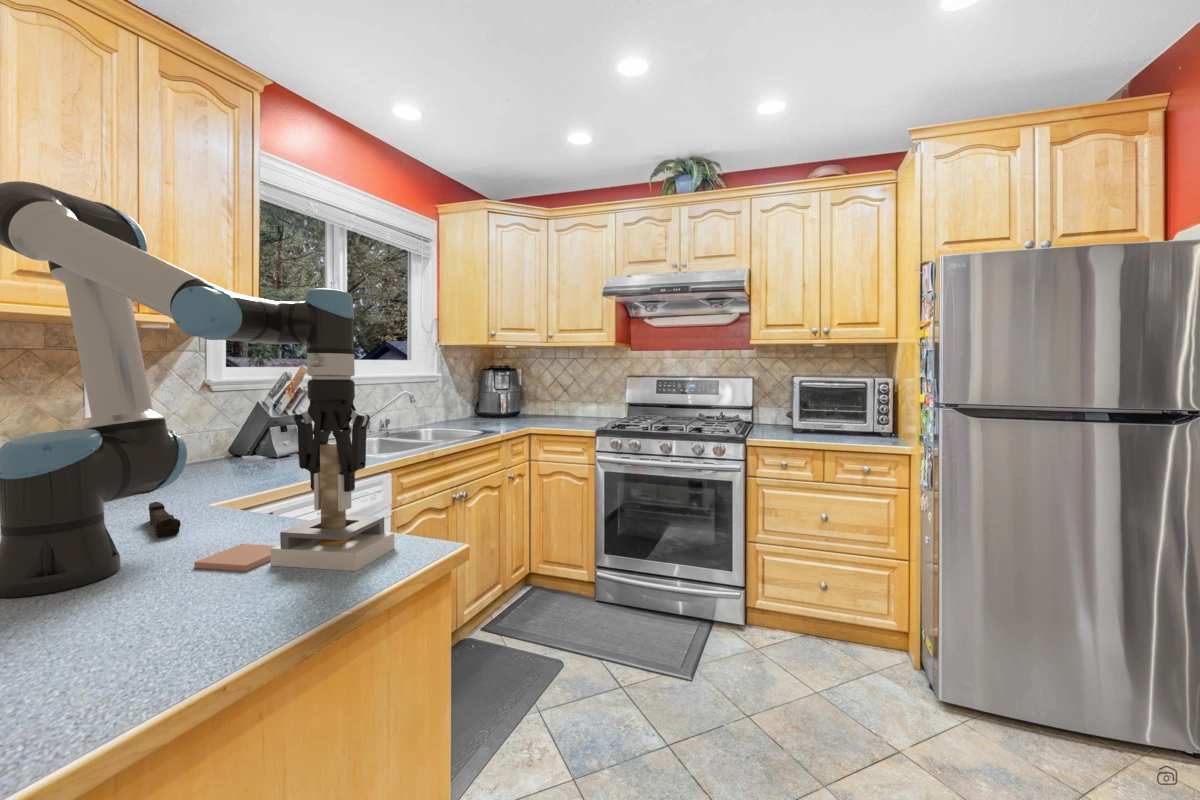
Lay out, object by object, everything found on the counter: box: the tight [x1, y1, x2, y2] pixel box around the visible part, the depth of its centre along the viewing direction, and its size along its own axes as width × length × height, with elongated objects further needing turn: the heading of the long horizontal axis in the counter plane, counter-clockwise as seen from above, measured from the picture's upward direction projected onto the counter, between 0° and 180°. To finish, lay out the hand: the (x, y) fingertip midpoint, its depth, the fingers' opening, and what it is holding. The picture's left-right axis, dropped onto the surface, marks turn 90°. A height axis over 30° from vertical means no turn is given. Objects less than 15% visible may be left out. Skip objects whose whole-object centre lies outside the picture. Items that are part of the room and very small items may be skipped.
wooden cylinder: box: [320, 442, 347, 530], centre depth 97 cm, size 4×4×16 cm
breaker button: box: [320, 538, 350, 546], centre depth 98 cm, size 5×5×3 cm
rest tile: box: [193, 543, 276, 572], centre depth 96 cm, size 10×10×1 cm
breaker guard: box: [270, 514, 395, 572], centre depth 98 cm, size 16×12×6 cm
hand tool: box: [148, 501, 181, 539], centre depth 117 cm, size 19×4×5 cm, turn 44°
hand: (333, 508), depth 97 cm, fingers closed on wooden cylinder, 4 cm apart
